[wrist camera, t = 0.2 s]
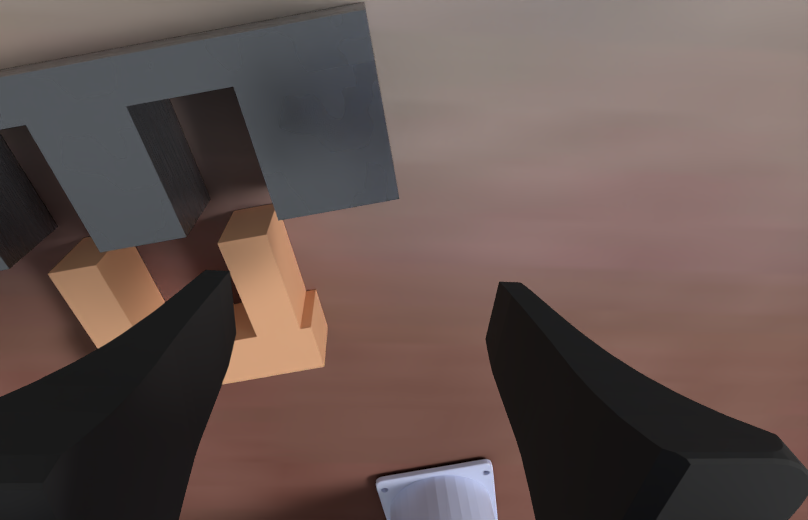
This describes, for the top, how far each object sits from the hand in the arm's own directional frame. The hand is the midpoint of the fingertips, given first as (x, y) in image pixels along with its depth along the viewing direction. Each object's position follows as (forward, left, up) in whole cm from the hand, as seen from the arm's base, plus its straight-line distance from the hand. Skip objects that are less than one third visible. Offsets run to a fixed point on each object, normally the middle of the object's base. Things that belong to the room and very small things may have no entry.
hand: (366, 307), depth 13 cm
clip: (-4, +9, -10) cm, 14 cm away
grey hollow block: (+4, +9, -10) cm, 14 cm away
